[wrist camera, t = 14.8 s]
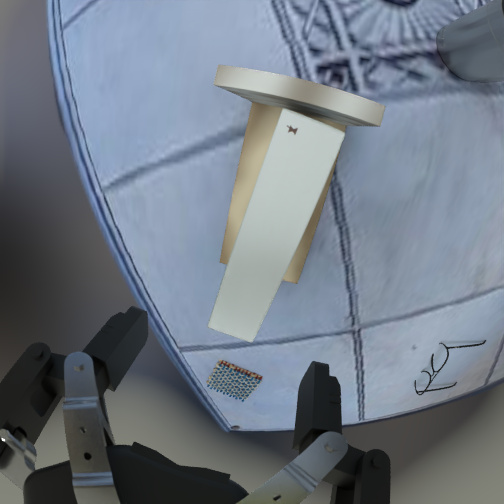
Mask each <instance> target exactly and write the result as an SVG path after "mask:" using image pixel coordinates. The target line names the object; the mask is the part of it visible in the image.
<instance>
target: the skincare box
mask: <svg viewBox="0 0 504 504" xmlns="http://www.w3.org/2000/svg"><path fill="white" fill-rule="evenodd" d="M344 137H345V133H344V132H342V131H340V130H338V129H336V128H333V127H331V126H329V125H326V124H324V123H322V122H319V121H317V120H314V119H312V118H309V117H306V116H304V115H301V114H298V113H296V112H293V111H290V110H287V109H283V110H282V111H281V114H280V117H279V120H278V123H277V125H276V128H275V131H274V133H273V136H272V139H271V142H270V144H269V147H268V150H267V153H266V156H265V158H264V161H263V164H262V167H261V169H260V172H259V175H258V178H257V181H256V184H255V187H254V189H253V192H252V195H251V198H250V201H249V204H248V206H247V209H246V212H245V215H244V217H243V220H242V223H241V226H240V229H239V232H238V235H237V238H236V240H235V243H234V246H233V249H232V252H231V255H230V258H229V261H228V264H227V267H226V270H225V273H224V276H223V279H222V282H221V286H220V289H219V292H218V295H217V298H216V301H215V305H214V308H213V311H212V314H211V317H210V319H209V322H208V328H211V329H214V330H217V331H220V332H222V333H225V334H228V335H231V336H233V337H236V338H239V339H242V340H245V341H248V342H253V340H254V338H255V336H256V334H257V332H258V330H259V328H260V326H261V324H262V322H263V320H264V318H265V316H266V314H267V312H268V310H269V307H270V305H271V303H272V301H273V299H274V297H275V295H276V293H277V291H278V288H279V286H280V284H281V282H282V280H283V278H284V276H285V274H286V271H287V269H288V267H289V265H290V263H291V261H292V258H293V256H294V254H295V252H296V250H297V247H298V245H299V243H300V241H301V238H302V236H303V234H304V232H305V230H306V227H307V225H308V223H309V220H310V218H311V216H312V214H313V211H314V209H315V207H316V204H317V202H318V200H319V197H320V195H321V193H322V190H323V188H324V186H325V183H326V181H327V179H328V176H329V174H330V171H331V169H332V167H333V164H334V162H335V159H336V157H337V154H338V152H339V149H340V147H341V144H342V142H343V139H344Z"/></svg>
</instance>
